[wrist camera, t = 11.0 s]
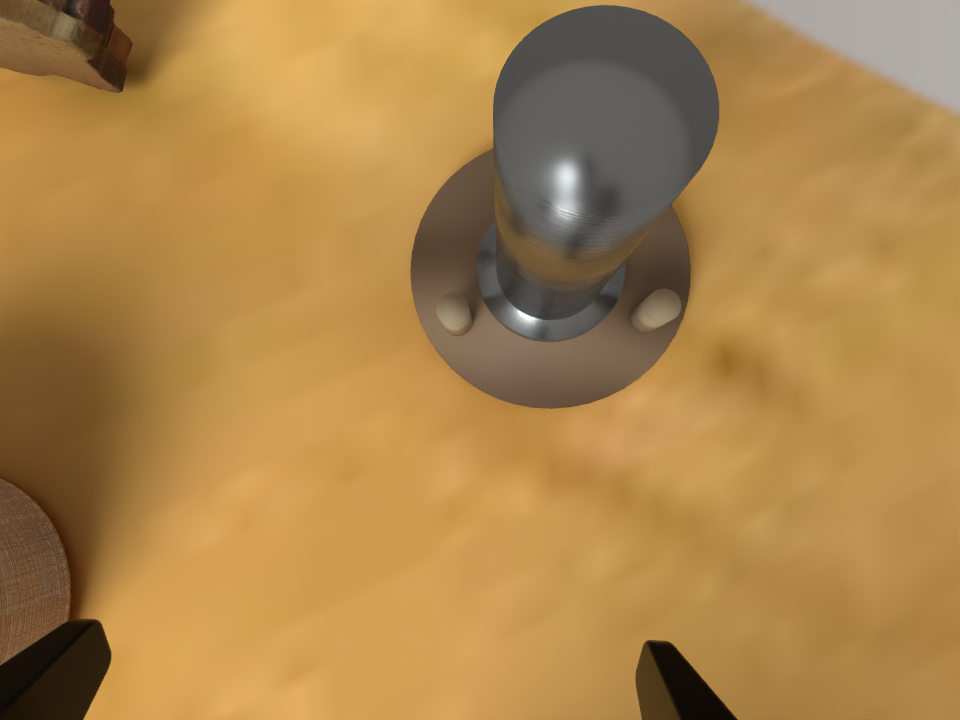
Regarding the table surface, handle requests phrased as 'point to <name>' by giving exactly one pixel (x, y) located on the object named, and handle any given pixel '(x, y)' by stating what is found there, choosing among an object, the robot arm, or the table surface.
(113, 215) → the table surface
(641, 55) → the grey metal post
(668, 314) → the seat plate
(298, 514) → the table surface
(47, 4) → the wooden carving
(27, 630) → the planter
